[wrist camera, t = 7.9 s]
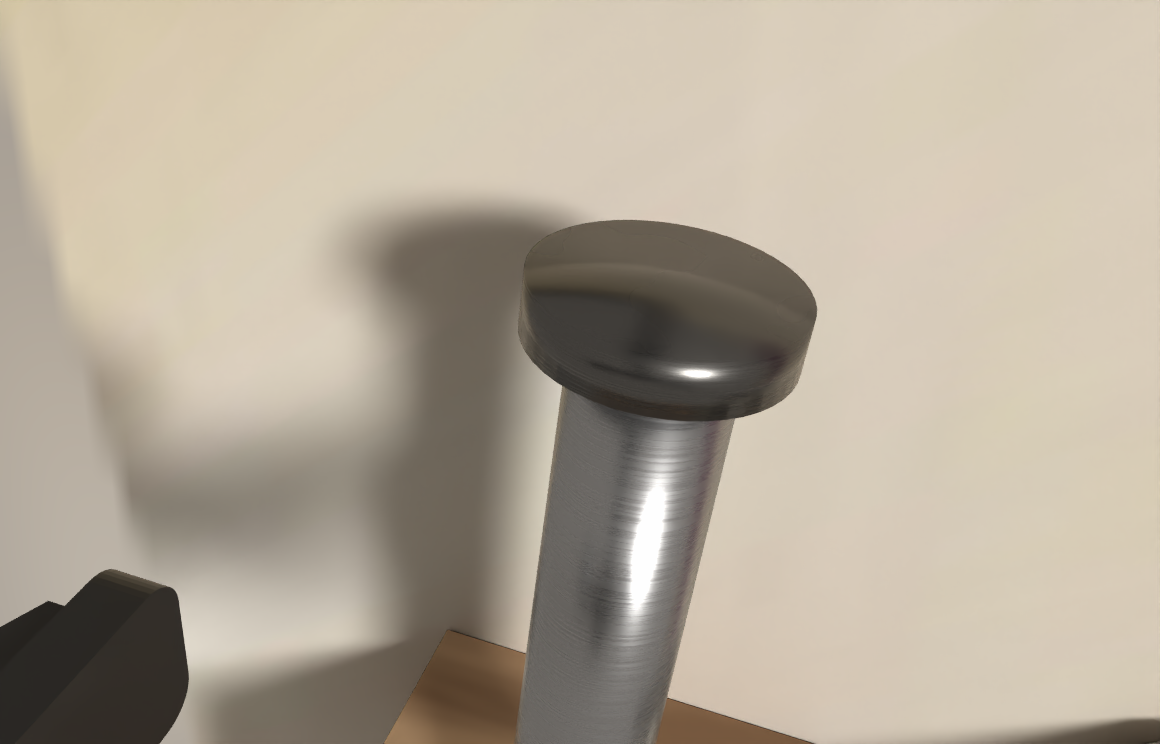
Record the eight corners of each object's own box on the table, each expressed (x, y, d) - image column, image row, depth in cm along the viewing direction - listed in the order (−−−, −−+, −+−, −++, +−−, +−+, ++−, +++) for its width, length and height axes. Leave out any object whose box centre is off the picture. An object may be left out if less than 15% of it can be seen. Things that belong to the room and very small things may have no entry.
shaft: (572, 199, 18) (480, 310, 14) (828, 258, 17) (800, 391, 14) (485, 885, 28) (419, 1051, 25) (642, 941, 28) (597, 1119, 24)
